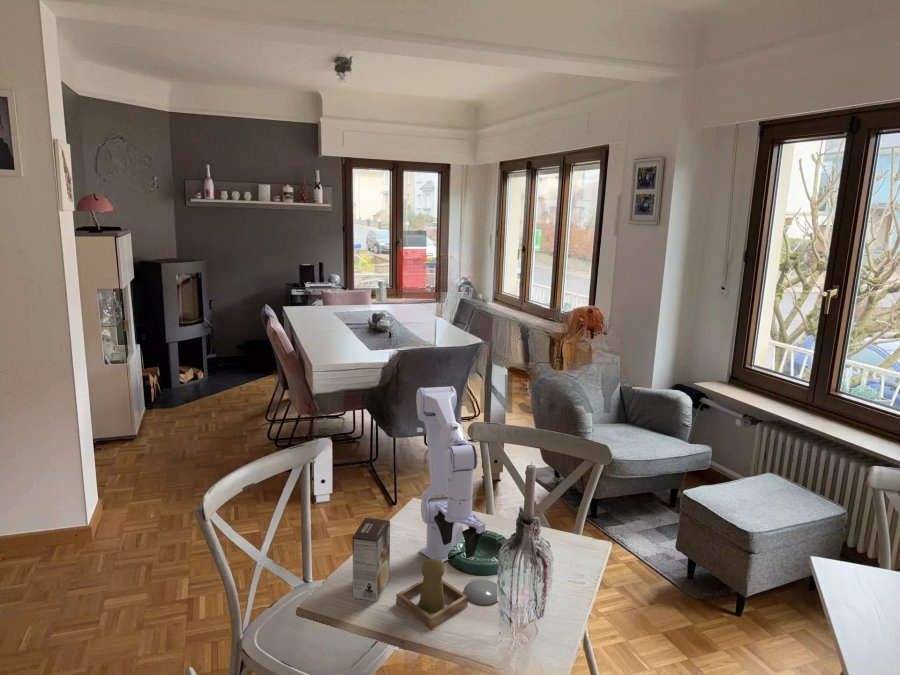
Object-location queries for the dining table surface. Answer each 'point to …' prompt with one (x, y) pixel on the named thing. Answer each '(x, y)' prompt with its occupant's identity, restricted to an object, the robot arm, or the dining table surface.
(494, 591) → the grey pebble
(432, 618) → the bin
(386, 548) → the coffee box
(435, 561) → the olive waisted cylinder
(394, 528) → the dining table surface
